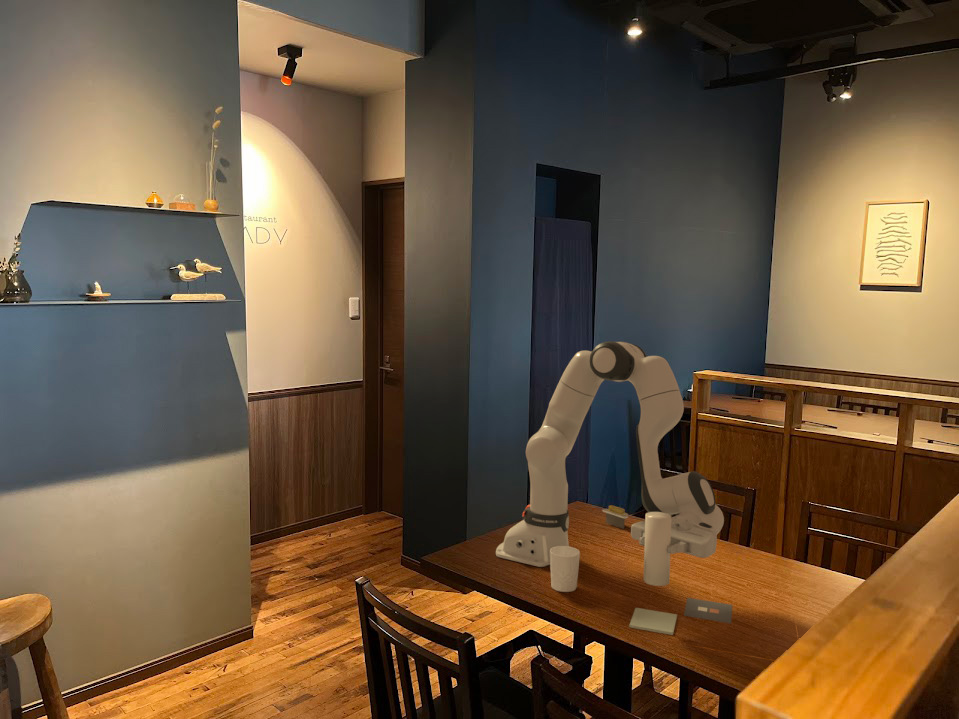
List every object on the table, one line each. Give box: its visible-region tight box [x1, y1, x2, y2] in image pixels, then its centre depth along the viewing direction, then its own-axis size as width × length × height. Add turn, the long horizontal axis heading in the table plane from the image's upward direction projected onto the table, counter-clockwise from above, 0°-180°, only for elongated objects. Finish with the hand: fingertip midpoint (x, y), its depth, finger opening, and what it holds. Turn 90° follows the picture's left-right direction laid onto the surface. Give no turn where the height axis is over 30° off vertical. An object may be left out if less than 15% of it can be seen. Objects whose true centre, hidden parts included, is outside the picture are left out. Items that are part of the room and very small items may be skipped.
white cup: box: [549, 545, 581, 593], centre depth 192 cm, size 8×8×10 cm
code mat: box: [683, 597, 733, 624], centre depth 180 cm, size 11×11×1 cm
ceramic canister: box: [643, 511, 672, 587], centre depth 171 cm, size 6×6×16 cm
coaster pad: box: [628, 607, 678, 636], centre depth 173 cm, size 10×10×1 cm
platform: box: [602, 504, 629, 530], centre depth 244 cm, size 12×18×7 cm, turn 39°
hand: (655, 546), depth 170 cm, fingers closed on ceramic canister, 6 cm apart
